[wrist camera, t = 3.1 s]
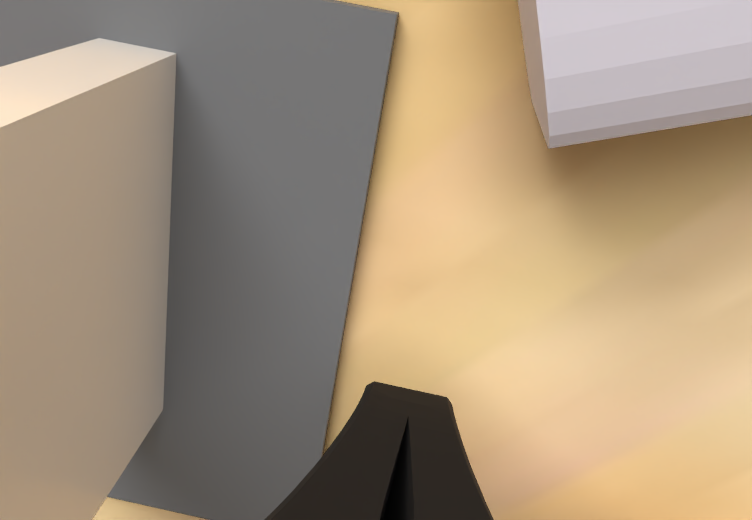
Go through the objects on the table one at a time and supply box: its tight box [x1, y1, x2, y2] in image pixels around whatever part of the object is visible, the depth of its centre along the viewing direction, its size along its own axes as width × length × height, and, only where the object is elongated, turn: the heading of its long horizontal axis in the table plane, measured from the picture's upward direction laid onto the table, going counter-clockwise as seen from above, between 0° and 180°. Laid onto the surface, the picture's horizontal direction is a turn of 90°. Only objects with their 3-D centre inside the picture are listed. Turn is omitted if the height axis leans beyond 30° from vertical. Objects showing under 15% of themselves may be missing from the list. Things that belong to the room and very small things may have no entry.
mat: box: [0, 0, 399, 520], centre depth 17 cm, size 14×14×1 cm
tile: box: [0, 38, 176, 520], centre depth 13 cm, size 9×2×7 cm, turn 170°
